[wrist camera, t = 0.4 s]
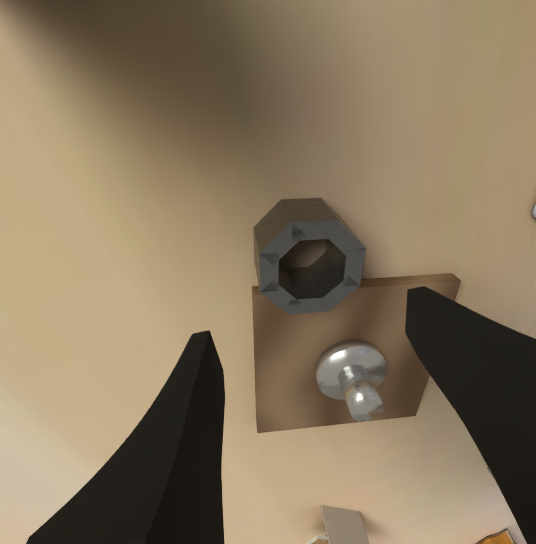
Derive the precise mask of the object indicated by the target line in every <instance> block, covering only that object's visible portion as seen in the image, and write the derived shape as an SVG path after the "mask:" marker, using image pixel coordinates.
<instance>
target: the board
mask: <svg viewBox="0 0 536 544" xmlns="http://www.w3.org/2000/svg"><path fill="white" fill-rule="evenodd" d="M460 283H461V281H460V280H459V279H458V278H457V277H456V276H455V275H453V274H437V275H422V276H406V277H391V278H376V279H361V283H360V286H359V287H358V288H357V289H355V290H354V291H353V292H352V293H351V294H349V295H348V296H347V297H346V298H344V299H343V300H342V301H341V302H340V303H338V304H337V305H336V306H335V307H334V308H332V309H331V310H330V311H329V312H315V313H302V314H288V313H286V312H285V311H284V310H282V309H281V308H280V307H279V306H277V305H276V304H275V303H273V302H272V301H271V300H269V299H268V298H267V297H265V296H264V295H263V294H261V293H260V290H259V286H253V287H252V296H253V328H254V360H255V392H256V423H257V433H263V432H272V431H281V430H290V429H299V428H309V427H318V426H327V425H336V424H345V423H355V422H361V421H356V420H354V419H353V418H352V416H351V413H350V411H349V408H348V405H347V403H346V400H339V399H334V398H330V397H328V396H326V395H325V394H324V393H322V391H321V390H320V389H319V386H318V383H317V380H316V377H315V373H314V367H315V363H316V361H317V359H318V358H319V356H320V355H321V354H322V353H323V352H324V351H325V350H326V349H328V348H329V347H330V346H332V345H334V344H336V343H338V342H341V341H345V340H351V339H361V340H366V341H369V342H371V343H373V344H374V345H375V346H376V347H377V348H378V349H379V351H380V352H381V354H382V356H383V358H384V359H385V361H386V364H387V372H386V375H385V377H384V379H383V381H382V382H381V383H380V384H379V385H378V386H377V387H376V388H375V389H376V391H377V393H378V395H379V397H380V399H381V401H382V403H383V405H384V409H383V412H382V413H381V414H380V415H379V416H378V417H376V418H375V419H372V420H370V421H373V420H382V419H391V418H401V417H410V416H416V413H417V410H418V407H419V404H420V401H421V398H422V395H423V392H424V389H425V386H426V383H427V380H428V377H429V372H428V371H427V370H426V368H425V367H424V365H423V364H422V362H421V361H420V359H419V358H418V356H417V355H416V353H415V351H414V349H413V347H412V345H411V343H410V341H409V339H408V338H407V336H406V334H405V324H406V305H407V289H412V288H417V287H422V286H425V287H427V288H429V289H432V290H434V291H435V292H437V293H439V294H441V295H443V296H445V297H447V298H449V299H451V300H453V301H454V300H455V297H456V294H457V291H458V288H459V285H460Z"/></svg>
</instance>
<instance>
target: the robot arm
mask: <svg viewBox="0 0 536 544" xmlns="http://www.w3.org/2000/svg"><path fill="white" fill-rule="evenodd" d="M532 214H533V216H534V217H535V218H536V205H535V207H534V209H533V213H532ZM405 334H406V336H407V338H408V339H409V341H410V343H411V345H412V347H413V349H414V351H415V353H416V355H417V356H418V358H419V359H420V361H421V362H422V364H423V365H424V367H425V368H426V370H427V371H428V372H429V374H430V375H431V377H432V378H433V379H434V381H435V382H436V384H437V385H438V387H439V388H440V389H441V391H442V392H443V394H444V395H445V396H446V398H447V399H448V401H449V402H450V403H451V405H452V406H453V408H454V409H455V410H456V412H457V414H458V415H459V417H460V418H461V420H462V421H463V423H464V424H465V426H466V428H467V430H468V431H469V433H470V435H471V437H472V438H473V440H474V442H475V444H476V445H477V447H478V449H479V451H480V453H481V454H482V456H483V458H484V460H485V462H486V464H487V465H488V467H489V469H490V471H491V473H492V475H493V476H494V478H495V480H496V482H497V484H498V486H499V488H500V490H501V492H502V494H503V496H504V498H505V500H506V502H507V504H508V506H509V508H510V509H511V511H512V513H513V515H514V517H515V519H516V522H517V524H518V526H519V528H520V530H521V532H522V534H523V536H524V538H525V540H526V542H527V544H536V339H534V338H532V337H529V336H527V335H524V334H522V333H519V332H517V331H515V330H513V329H510V328H508V327H506V326H504V325H501V324H499V323H497V322H495V321H493V320H491V319H488V318H486V317H484V316H482V315H480V314H478V313H476V312H474V311H472V310H470V309H468V308H466V307H464V306H462V305H460V304H458V303H457V302H455V301H453V300H451V299H449V298H447V297H445V296H443V295H441V294H439V293H437V292H435V291H434V290H432V289H429V288H427V287H425V286H422V287H417V288H412V289H407V305H406V324H405ZM224 406H225V389H224V374H223V368H222V365H221V362H220V359H219V356H218V354H217V351H216V348H215V345H214V342H213V339H212V336H211V333H210V330H209V331H204V332H199V333H194V334H192V336H191V337H190V339H189V341H188V343H187V345H186V347H185V349H184V351H183V353H182V355H181V357H180V358H179V360H178V362H177V364H176V366H175V368H174V369H173V371H172V373H171V375H170V376H169V378H168V380H167V382H166V383H165V385H164V387H163V388H162V390H161V391H160V393H159V394H158V396H157V398H156V399H155V401H154V402H153V404H152V405H151V407H150V408H149V410H148V411H147V413H146V414H145V415H144V417H143V418H142V420H141V421H140V422H139V424H138V425H137V426H136V428H135V429H134V430H133V432H132V433H131V434H130V435H129V437H128V438H127V439H126V440H125V441H124V443H123V444H122V445H121V446H120V447H119V449H118V450H117V451H116V452H115V453H114V454H113V456H112V457H111V458H110V459H109V460H108V461H107V462H106V464H105V465H104V466H103V467H102V468H101V469H100V470H99V471H98V472H97V473H96V474H95V475H94V476H93V477H92V479H91V480H90V481H89V482H88V483H87V484H86V485H85V486H84V487H83V488H82V489H81V490H80V491H79V492H78V493H77V494H76V495H75V496H74V497H73V498H71V499H70V500H69V501H68V502H67V503H66V504H65V505H64V506H63V507H62V508H61V509H60V510H59V511H58V512H56V513H55V514H54V515H53V516H52V517H51V518H50V519H49V520H48V521H47V522H46V523H44V524H43V525H42V526H41V527H40V528H39V529H38V530H37V531H36V532H35V533H33V534H32V535H31V536H30V537H29V539H28V541H27V543H26V544H224V527H223V507H222V480H221V460H222V442H223V425H224Z"/></svg>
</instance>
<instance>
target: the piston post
mask: <svg viewBox="0 0 536 544" xmlns="http://www.w3.org/2000/svg"><path fill="white" fill-rule="evenodd" d="M386 372H387V364H386V361H385V359H384V358H383V356H382V354H381V352H380V351H379V349H378V348H377V347H376V346H375V345H374V344H373V343H371V342H369V341H366V340H361V339H351V340H345V341H341V342H338V343H336V344H334V345H332V346H330V347H329V348H328V349H326V350H325V351H324V352H323V353H322V354H321V355H320V356H319V358H318V359H317V361H316V363H315V367H314V373H315V377H316V380H317V383H318V386H319V389H320V390H321V391H322V393H324V394H325V395H326V396H328V397H330V398H334V399H339V400H346V403H347V405H348V408H349V411H350V413H351V416H352V418H353V419H354V420H356V421H361V422H364V421H370V420H372V419H375V418H376V417H378V416H379V415H380V414H381V413H382V412H383V409H384V405H383V403H382V401H381V399H380V397H379V395H378V393H377V391H376V389H375V388H376V387H377V386H378V385H379V384H380V383H381V382H382V381H383V379H384V377H385V375H386Z"/></svg>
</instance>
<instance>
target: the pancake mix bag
mask: <svg viewBox="0 0 536 544" xmlns="http://www.w3.org/2000/svg"><path fill="white" fill-rule="evenodd" d="M477 544H516V543H515V542H514V540H513V538H512V536H511V535H510V533H509V531H508V529H507V530H505V531H503V532H501V533H499V534H496V535H492V536H489V537H486V538H485V539H483V540H482V541H480V542H479V543H477Z"/></svg>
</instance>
